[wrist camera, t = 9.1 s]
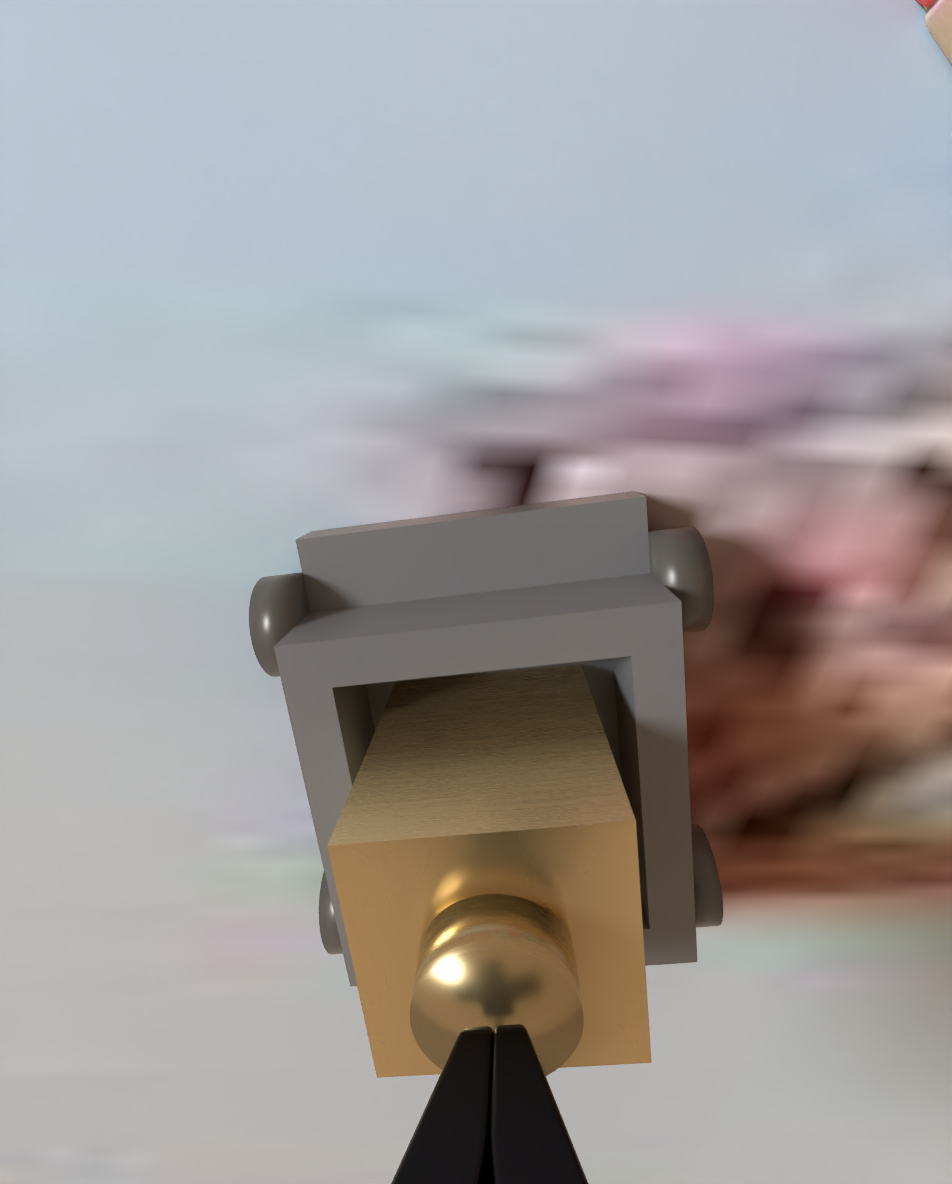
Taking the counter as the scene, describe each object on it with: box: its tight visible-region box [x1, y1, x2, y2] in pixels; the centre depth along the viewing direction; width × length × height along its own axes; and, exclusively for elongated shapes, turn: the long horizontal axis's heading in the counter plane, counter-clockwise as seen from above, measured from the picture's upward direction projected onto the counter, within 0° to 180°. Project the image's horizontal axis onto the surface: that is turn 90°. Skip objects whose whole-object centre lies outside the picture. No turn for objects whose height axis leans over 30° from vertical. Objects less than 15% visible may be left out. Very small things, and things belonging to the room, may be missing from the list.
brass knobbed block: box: [327, 664, 651, 1078], centre depth 12 cm, size 4×4×7 cm
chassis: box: [249, 492, 723, 986], centre depth 14 cm, size 12×10×4 cm
